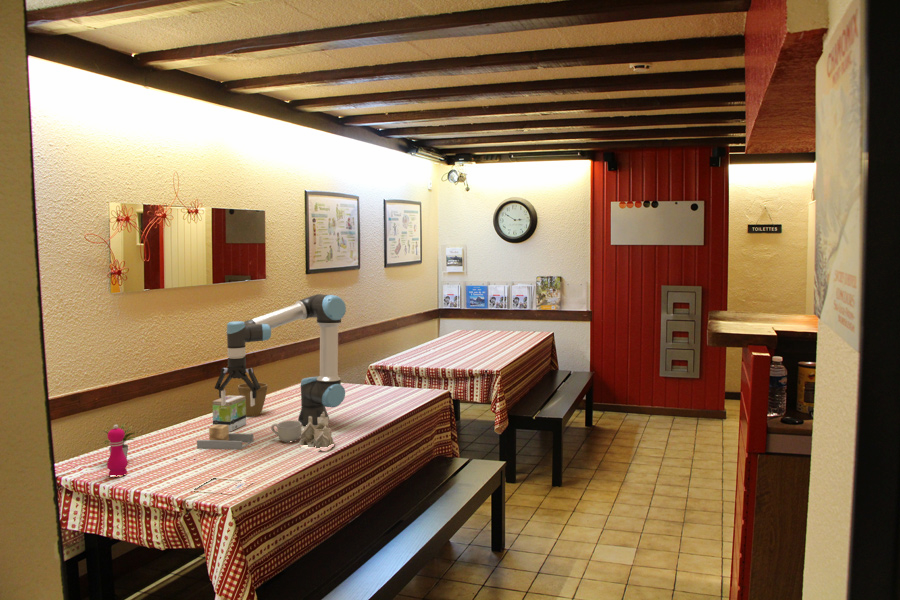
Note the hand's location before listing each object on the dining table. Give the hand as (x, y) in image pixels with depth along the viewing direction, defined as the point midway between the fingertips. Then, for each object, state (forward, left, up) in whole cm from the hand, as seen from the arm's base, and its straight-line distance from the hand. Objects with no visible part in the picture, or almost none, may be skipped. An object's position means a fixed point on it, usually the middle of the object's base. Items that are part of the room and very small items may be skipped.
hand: (238, 405), depth 297 cm
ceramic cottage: (-33, -5, -19) cm, 39 cm away
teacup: (-17, -13, -19) cm, 28 cm away
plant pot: (+18, -58, -19) cm, 63 cm away
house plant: (+41, +25, -19) cm, 52 cm away
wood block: (+9, 0, -18) cm, 20 cm away
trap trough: (+6, 0, -19) cm, 20 cm away
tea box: (+19, -32, -19) cm, 42 cm away
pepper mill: (+31, +40, -19) cm, 54 cm away
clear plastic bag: (-16, +48, -19) cm, 54 cm away
